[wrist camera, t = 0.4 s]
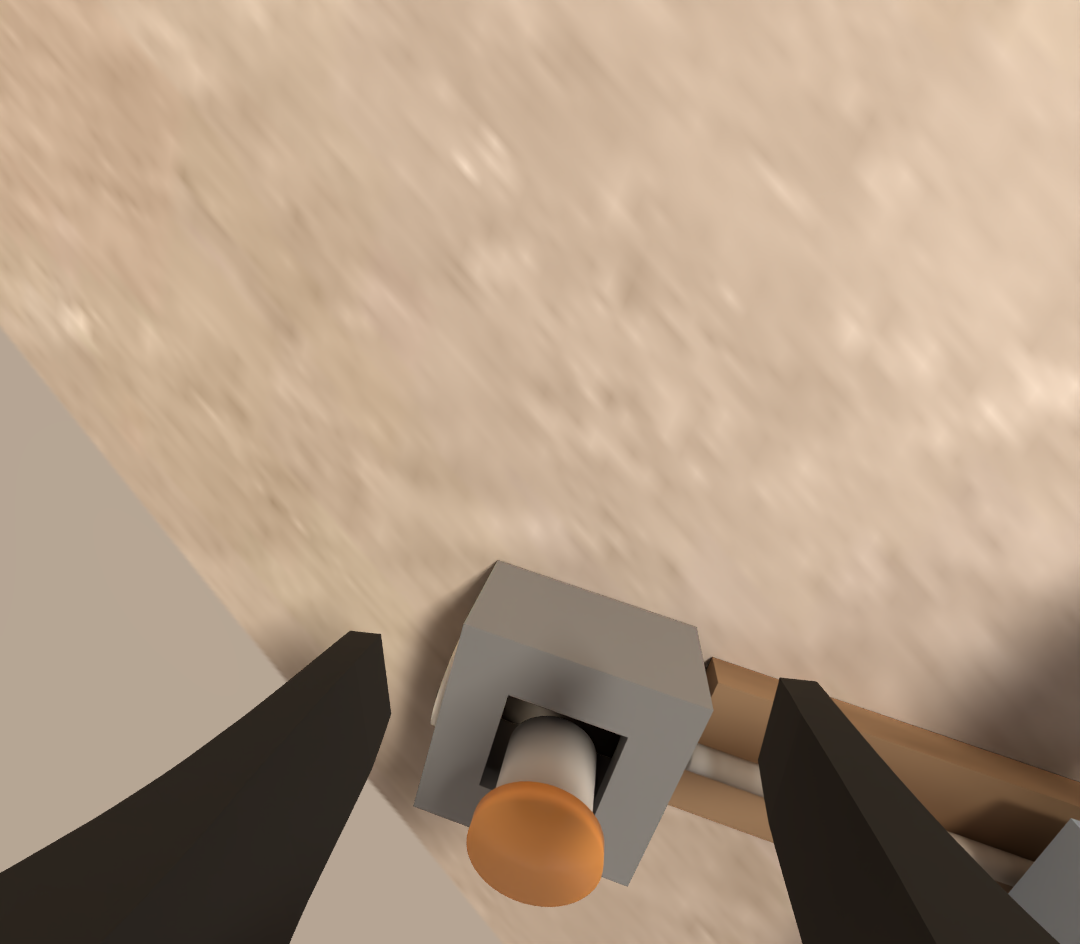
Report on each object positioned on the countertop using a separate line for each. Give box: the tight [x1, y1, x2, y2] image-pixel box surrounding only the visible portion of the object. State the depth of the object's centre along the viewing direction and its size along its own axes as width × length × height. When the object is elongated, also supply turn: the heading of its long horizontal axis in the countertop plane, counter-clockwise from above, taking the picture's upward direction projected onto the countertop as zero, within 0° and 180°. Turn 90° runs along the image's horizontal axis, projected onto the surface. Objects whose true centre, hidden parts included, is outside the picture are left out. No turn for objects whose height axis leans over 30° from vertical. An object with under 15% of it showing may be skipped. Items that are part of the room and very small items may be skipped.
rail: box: [668, 657, 1080, 893], centre depth 20 cm, size 6×18×2 cm, turn 74°
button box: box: [413, 560, 713, 887], centre depth 20 cm, size 8×8×4 cm
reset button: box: [467, 716, 604, 907], centre depth 17 cm, size 4×4×4 cm
